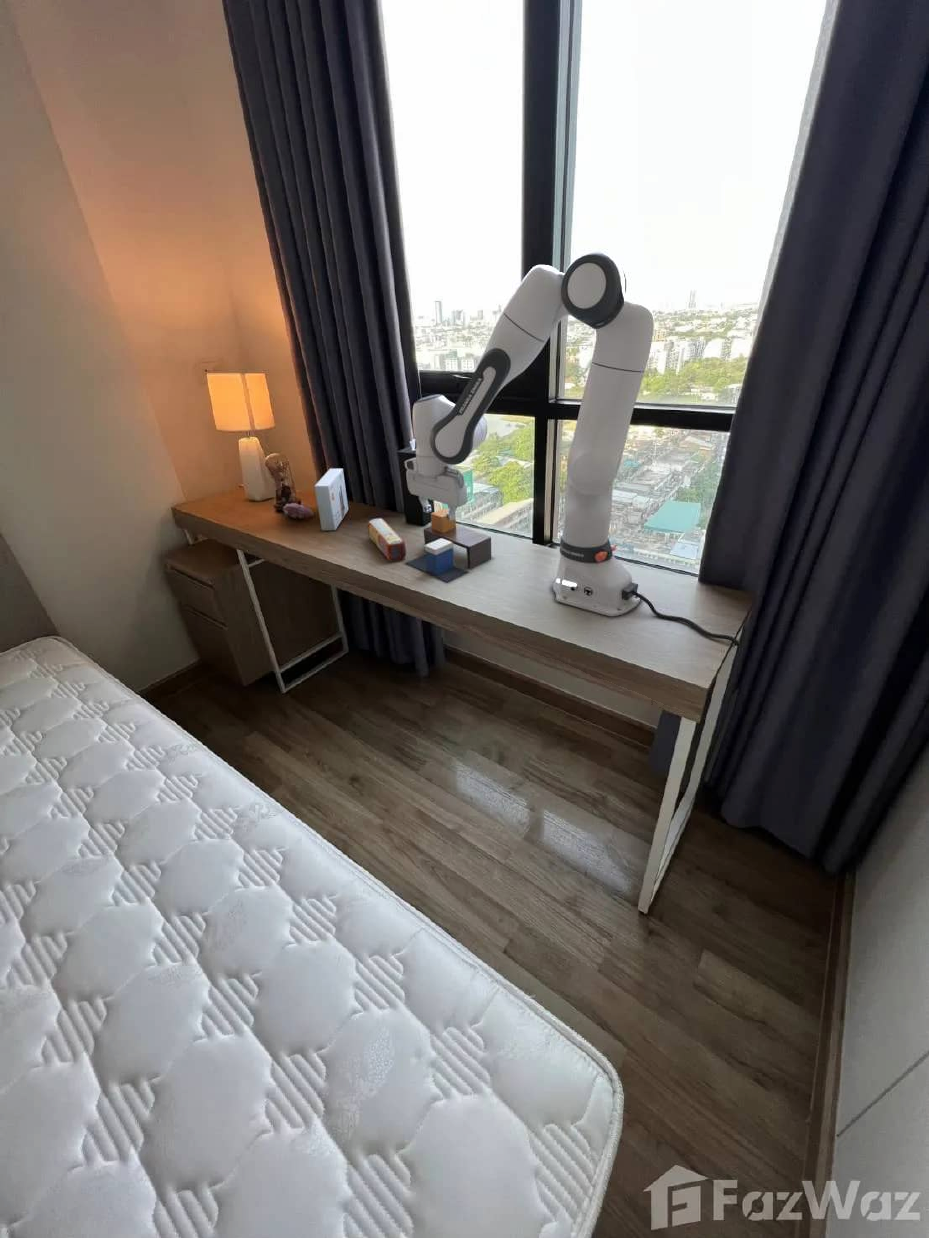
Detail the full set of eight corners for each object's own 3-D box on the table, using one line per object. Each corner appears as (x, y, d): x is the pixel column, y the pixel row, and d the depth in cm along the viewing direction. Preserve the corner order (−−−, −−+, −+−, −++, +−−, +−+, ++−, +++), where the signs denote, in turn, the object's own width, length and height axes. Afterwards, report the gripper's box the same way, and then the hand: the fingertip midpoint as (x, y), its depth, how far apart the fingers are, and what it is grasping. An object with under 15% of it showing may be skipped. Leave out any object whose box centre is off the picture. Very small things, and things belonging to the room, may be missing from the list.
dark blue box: (454, 567, 144) (452, 542, 139) (437, 575, 140) (435, 549, 136) (443, 563, 146) (441, 538, 142) (426, 570, 143) (424, 545, 138)
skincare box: (337, 530, 172) (328, 485, 163) (321, 531, 172) (312, 486, 164) (350, 509, 190) (343, 467, 181) (336, 509, 190) (328, 468, 181)
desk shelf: (491, 558, 148) (491, 536, 144) (470, 569, 143) (469, 546, 139) (446, 541, 161) (444, 520, 157) (425, 550, 155) (423, 529, 152)
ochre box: (456, 527, 151) (455, 512, 149) (442, 533, 148) (441, 517, 146) (445, 523, 155) (444, 508, 152) (431, 529, 151) (430, 513, 149)
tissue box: (405, 523, 175) (395, 441, 160) (417, 515, 181) (409, 435, 166) (424, 526, 172) (416, 443, 157) (435, 518, 178) (429, 437, 162)
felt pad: (467, 572, 141) (467, 571, 141) (447, 582, 137) (447, 581, 137) (426, 554, 152) (426, 554, 152) (406, 563, 148) (406, 562, 148)
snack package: (408, 559, 151) (406, 538, 147) (388, 564, 148) (385, 543, 145) (386, 535, 167) (384, 515, 163) (367, 539, 165) (364, 519, 161)
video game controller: (287, 521, 186) (278, 508, 180) (292, 512, 188) (283, 498, 182) (310, 523, 183) (302, 510, 177) (315, 513, 185) (307, 500, 179)
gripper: (471, 467, 122) (474, 520, 130) (418, 455, 135) (423, 504, 143) (453, 473, 119) (457, 528, 126) (400, 461, 132) (406, 511, 139)
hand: (439, 515), depth 135 cm, fingers open, 8 cm apart
